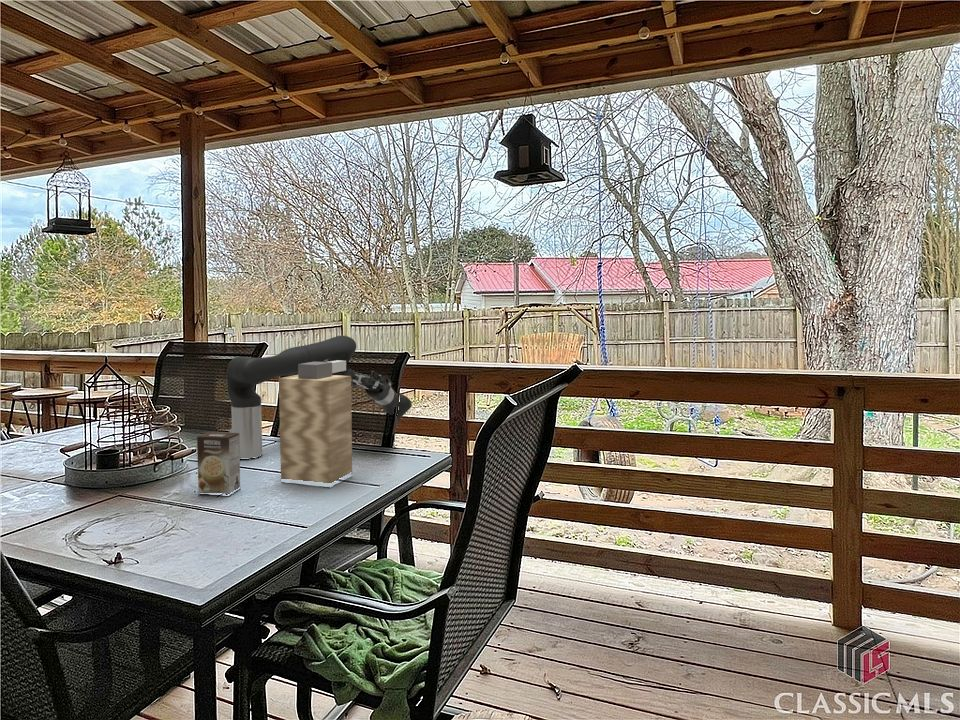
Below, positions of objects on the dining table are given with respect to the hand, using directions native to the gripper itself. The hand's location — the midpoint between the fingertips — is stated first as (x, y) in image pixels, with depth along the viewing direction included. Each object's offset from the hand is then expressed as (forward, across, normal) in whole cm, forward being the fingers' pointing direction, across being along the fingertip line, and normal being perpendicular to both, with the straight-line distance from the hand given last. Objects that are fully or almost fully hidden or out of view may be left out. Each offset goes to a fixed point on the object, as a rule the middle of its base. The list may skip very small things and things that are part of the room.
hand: (360, 372), depth 199 cm
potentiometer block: (+19, 0, +9) cm, 21 cm away
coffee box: (+25, -18, +47) cm, 56 cm away
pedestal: (+9, 0, +38) cm, 39 cm away
